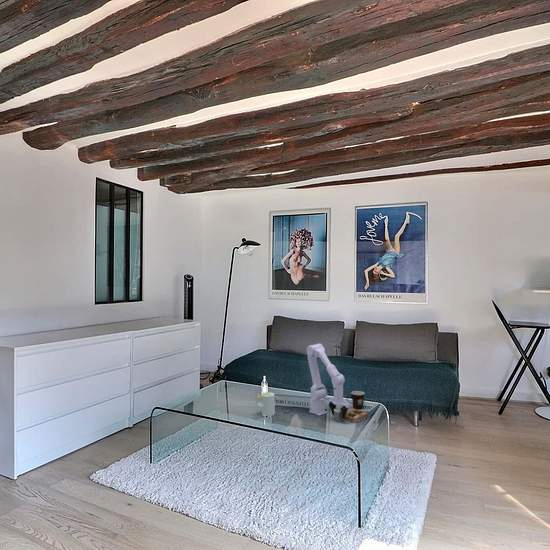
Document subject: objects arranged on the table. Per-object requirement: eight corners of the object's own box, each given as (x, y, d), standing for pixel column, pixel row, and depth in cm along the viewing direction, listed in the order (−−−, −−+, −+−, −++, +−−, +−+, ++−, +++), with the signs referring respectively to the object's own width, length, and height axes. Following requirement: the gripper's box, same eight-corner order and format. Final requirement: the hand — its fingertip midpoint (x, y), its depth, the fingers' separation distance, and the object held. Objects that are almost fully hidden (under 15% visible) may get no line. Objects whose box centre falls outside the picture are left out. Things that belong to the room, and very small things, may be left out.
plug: (334, 420, 255) (333, 409, 255) (338, 418, 258) (338, 407, 258) (339, 422, 252) (339, 410, 252) (343, 420, 255) (343, 409, 255)
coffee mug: (365, 406, 279) (365, 391, 279) (364, 410, 271) (364, 395, 270) (347, 404, 282) (347, 390, 282) (346, 409, 274) (346, 394, 273)
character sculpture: (268, 407, 279) (267, 388, 279) (282, 411, 273) (282, 390, 272) (249, 417, 263) (249, 396, 262) (264, 421, 256) (264, 399, 256)
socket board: (340, 418, 259) (340, 414, 259) (354, 412, 268) (354, 408, 268) (354, 423, 251) (354, 418, 250) (368, 416, 260) (368, 412, 260)
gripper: (325, 393, 257) (325, 415, 258) (343, 399, 247) (343, 421, 247) (332, 390, 262) (332, 412, 263) (351, 396, 251) (351, 418, 252)
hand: (338, 416), depth 255 cm, fingers open, 7 cm apart
